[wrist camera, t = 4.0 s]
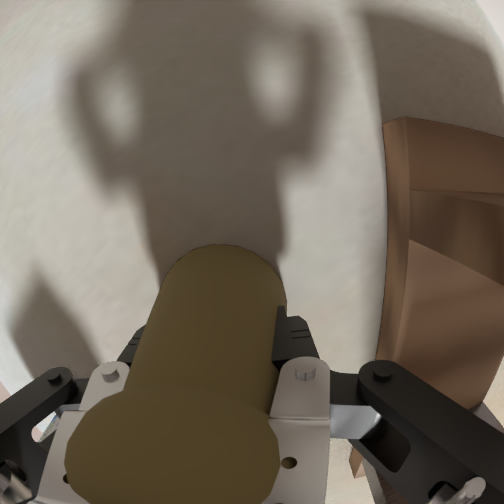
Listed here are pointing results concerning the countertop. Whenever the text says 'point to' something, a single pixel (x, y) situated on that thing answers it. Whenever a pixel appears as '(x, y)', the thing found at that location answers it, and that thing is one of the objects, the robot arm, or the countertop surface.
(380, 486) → the dark metal bookend
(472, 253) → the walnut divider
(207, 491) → the olive tall tapered piece
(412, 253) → the shelf board
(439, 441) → the robot arm
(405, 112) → the countertop surface
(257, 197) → the countertop surface
